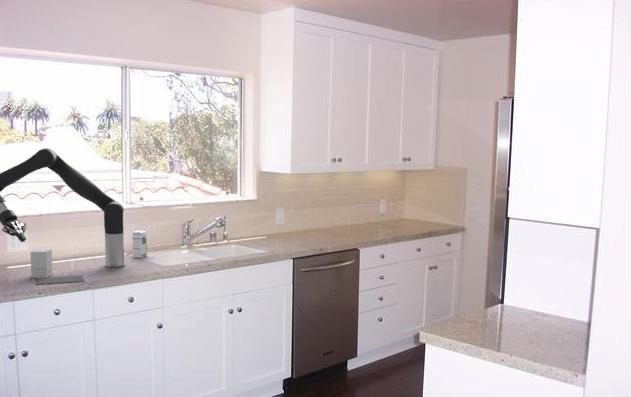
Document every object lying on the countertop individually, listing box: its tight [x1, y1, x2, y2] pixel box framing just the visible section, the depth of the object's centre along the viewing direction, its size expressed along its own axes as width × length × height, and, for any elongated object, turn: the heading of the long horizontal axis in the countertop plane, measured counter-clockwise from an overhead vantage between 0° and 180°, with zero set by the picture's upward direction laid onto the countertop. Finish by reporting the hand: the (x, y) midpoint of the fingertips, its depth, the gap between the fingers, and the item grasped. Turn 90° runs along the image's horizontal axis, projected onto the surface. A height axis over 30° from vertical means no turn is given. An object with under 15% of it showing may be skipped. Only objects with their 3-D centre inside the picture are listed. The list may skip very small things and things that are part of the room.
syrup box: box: [131, 230, 148, 259], centre depth 331 cm, size 6×6×14 cm
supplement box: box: [29, 248, 54, 279], centre depth 280 cm, size 7×7×13 cm
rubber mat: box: [35, 275, 84, 286], centre depth 273 cm, size 20×12×1 cm, turn 113°
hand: (24, 240), depth 283 cm, fingers closed
